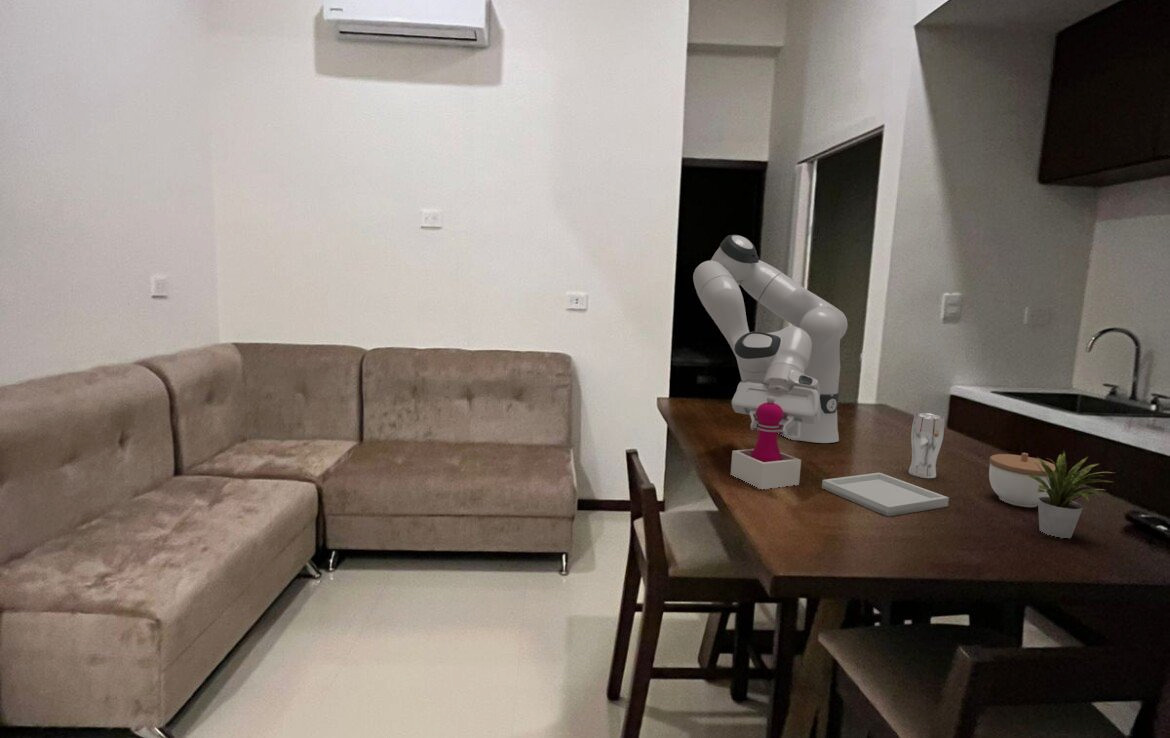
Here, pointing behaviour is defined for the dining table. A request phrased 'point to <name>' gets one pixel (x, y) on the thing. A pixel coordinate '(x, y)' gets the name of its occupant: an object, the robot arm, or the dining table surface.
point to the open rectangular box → (765, 470)
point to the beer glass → (926, 444)
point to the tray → (885, 494)
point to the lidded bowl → (1017, 478)
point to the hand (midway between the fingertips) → (767, 431)
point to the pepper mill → (768, 431)
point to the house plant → (1063, 497)
